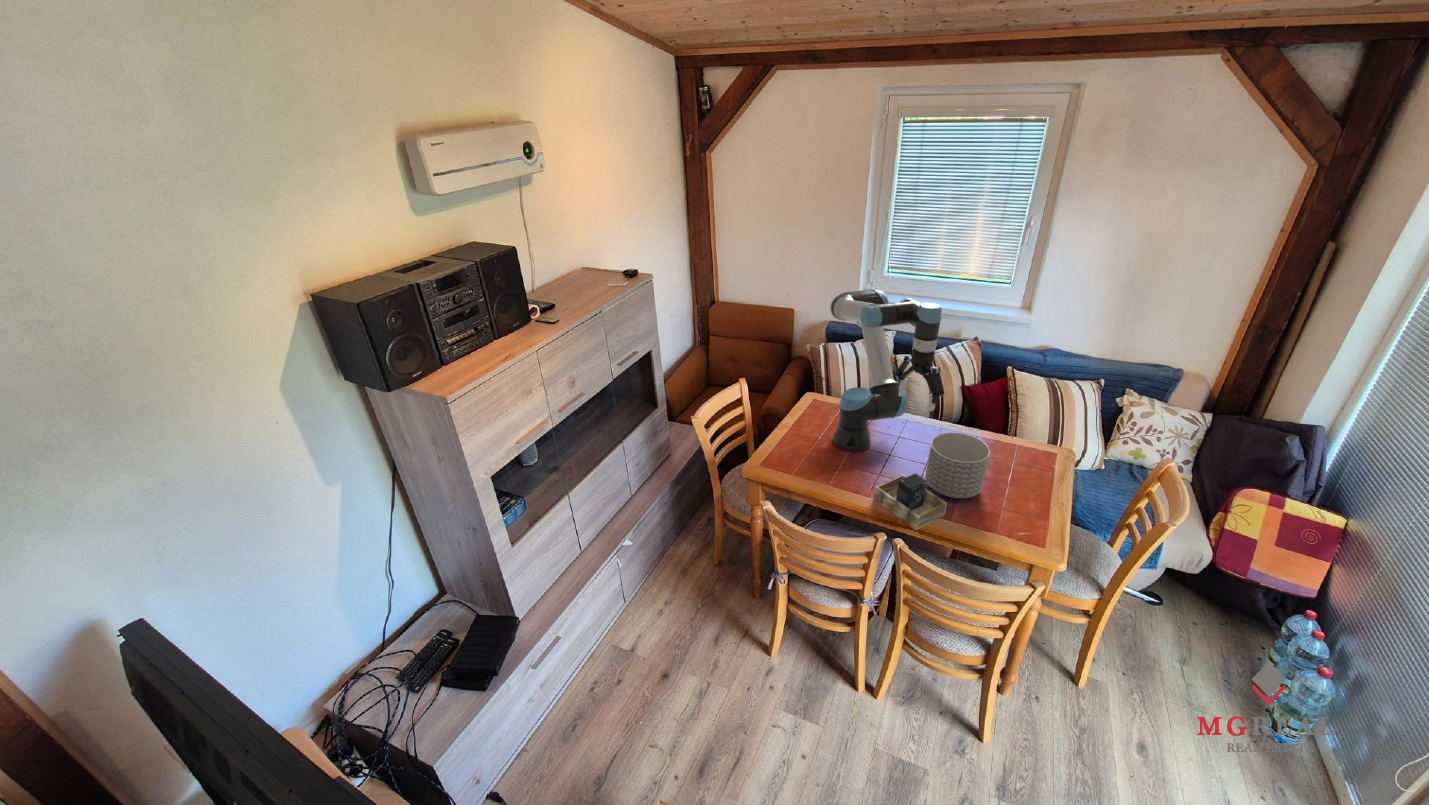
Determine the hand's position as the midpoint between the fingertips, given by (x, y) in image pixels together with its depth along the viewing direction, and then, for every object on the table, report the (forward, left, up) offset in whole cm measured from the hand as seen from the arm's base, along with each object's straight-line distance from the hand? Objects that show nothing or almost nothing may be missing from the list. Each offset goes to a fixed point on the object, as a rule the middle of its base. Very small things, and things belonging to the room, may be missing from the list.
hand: (915, 402), depth 202 cm
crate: (+17, -17, -29) cm, 37 cm away
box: (+17, -17, -28) cm, 37 cm away
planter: (+18, +4, -29) cm, 34 cm away
